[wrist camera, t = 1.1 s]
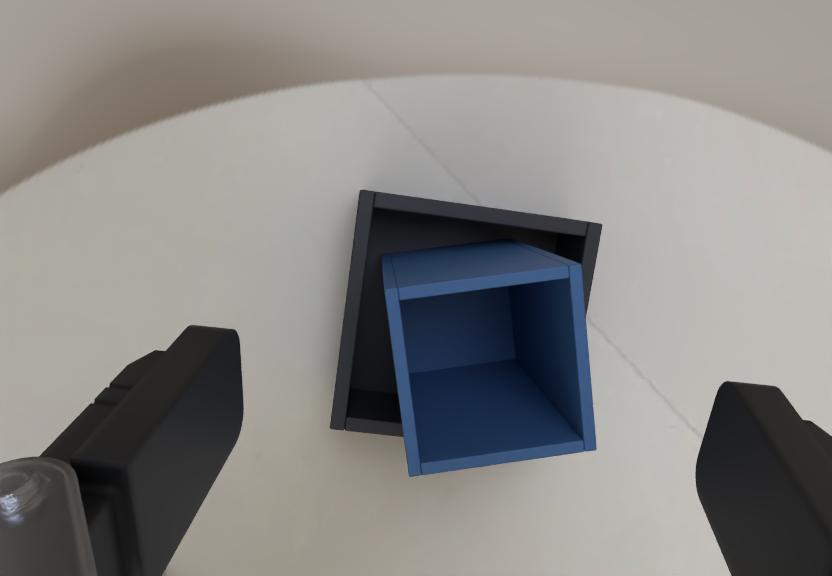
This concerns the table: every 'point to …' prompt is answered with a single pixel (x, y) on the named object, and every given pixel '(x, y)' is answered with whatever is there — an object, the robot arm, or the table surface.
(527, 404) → the blue bin
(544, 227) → the black bin
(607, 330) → the table surface
